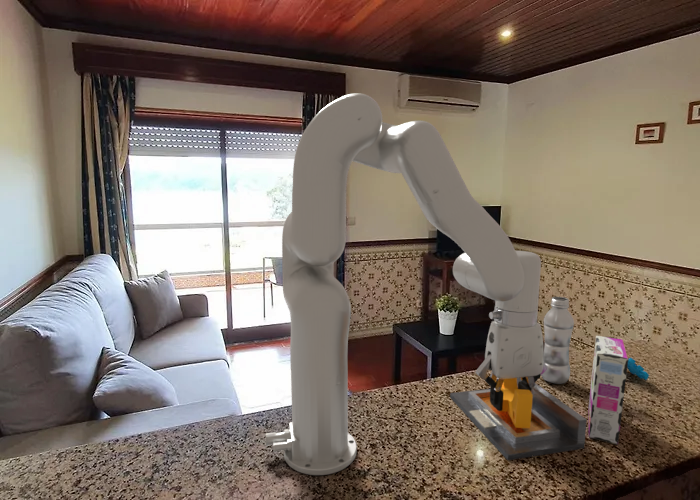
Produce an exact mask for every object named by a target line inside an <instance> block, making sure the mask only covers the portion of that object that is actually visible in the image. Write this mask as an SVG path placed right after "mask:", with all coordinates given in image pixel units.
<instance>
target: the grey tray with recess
mask: <svg viewBox="0 0 700 500" xmlns="http://www.w3.org/2000/svg"><path fill="white" fill-rule="evenodd" d="M520 381H521V378H517V386H518V383H519V382H520ZM531 393H532V395H533V399H532V412H531V425H530V428H515V426H514V424H513V422H512V420H511V418H510V416H509V414H508V412H505V411H498V410H497V409H496V408H495V407H494V406H493V405H492V404H491V402H490V388H485V389H484V388H483V389H475V390H468V391H467V390H464V391H457V392H450V394H449V398H450V399H451V401H452V402H453V403H454V404H455V405H457V407H458V408H459V409H460V410H461V411H462V413H464V415H465V416H466V417H467V418H468V419H469V420H470V421H471V422H472V423H473V424H474V425H475V426H476V427H477V429H478V430H479V431H480V432H481V433H482V434H483V435H484V436H485V437H486V438H487V440H488V441H490V443H491V444H492V445H493V446H494V447H495V448H496V449H497V451H499V452H500V454H501V455H502V456H503V457H504V458H505V459H506V460H507V461H511V460H519V459H525V458H530V457H532V458H533V457H537V456H543V455H551V454H559V453H564V452H569V451H576V450H582V449H585V444H586V442H585V441H586V431H587V420H588V419H587V418H585V417H584V416H582V415H581V414H579V413H578V412H577V411H576V410H574V409H573V408H571V407H570V406H569V405H567V404H566V403H564V402H563V401H562V400H560V399H559V398H557V397H555V396H554V395H553V394H551V393H550V392H549V391H547V390H546V389H545V388H543V387H542V386H540V385H539V384H538V383H536V382H535V386H534V387H533V388H532V389H531Z"/></svg>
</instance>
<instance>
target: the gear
mask: <svg viewBox="0 0 700 500" xmlns="http://www.w3.org/2000/svg"><path fill="white" fill-rule="evenodd" d="M627 371H628V372H629V373H631V374H632V375H636V377H638V378H639V379H643V380H645V381H647V380H648V379H649V377H650V375H649V373H648V372H647V371H645V368H644V367H643V366H642V365H637V364H636V360H635V359H634V358H633V357H628V366H627Z"/></svg>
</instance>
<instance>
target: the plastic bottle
mask: <svg viewBox="0 0 700 500" xmlns="http://www.w3.org/2000/svg"><path fill="white" fill-rule="evenodd" d="M550 307H551V308H550V309H549V310H548V311H547V312H546V314H545V315H544V318H543V329H544V346H543V353H544V355H543V361H544V362H545V364H546V365H547V366H548V369H547V370H546V371H545V372H544V373H543V374H542V375H541V376H540V377H542V379H543V380H544V381H546V382H548V383H551V384H558V385H562V384H565V383H567V382H568V381H569V379H570V376H571V365H570V344H571V337H572V334H573V330H574V324H575V321H574V317H573V316H572V314H571V312H570V311H569V310H568V309H569V307H570V299H569V298H566V297H563V296H552V297H551V302H550Z"/></svg>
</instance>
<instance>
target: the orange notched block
mask: <svg viewBox="0 0 700 500" xmlns="http://www.w3.org/2000/svg"><path fill="white" fill-rule="evenodd" d="M495 382H496V381H495ZM501 390H502V391H503V409H502V411H505V412H508V414H509V416H510V418H511V420H512V422H513V424H514V426H515V428H530V425H531V412H532V399H533V395H532V393H531V392H530V390H523V389H518V386H517V378H512V379H504V382H503V385H502V387H501Z"/></svg>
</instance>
